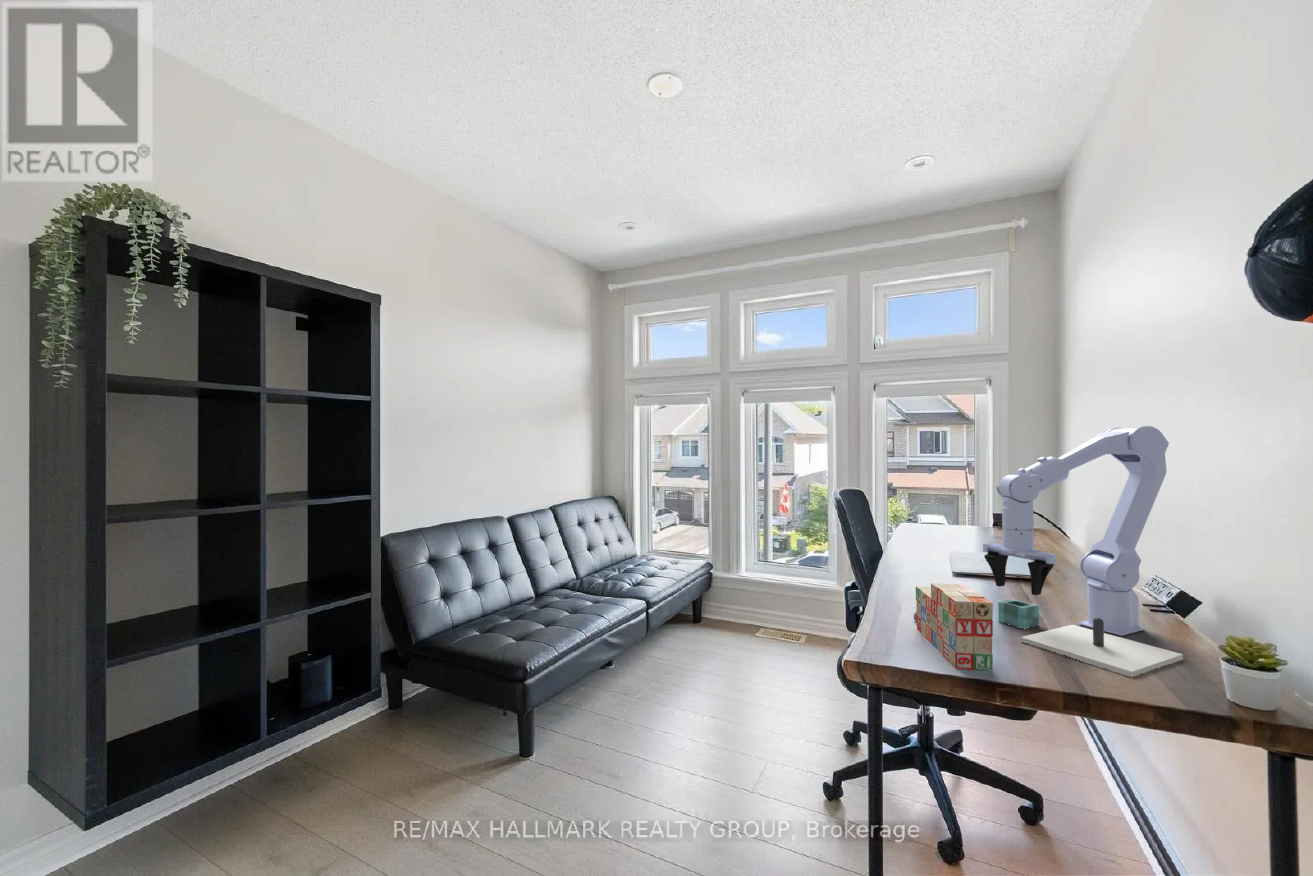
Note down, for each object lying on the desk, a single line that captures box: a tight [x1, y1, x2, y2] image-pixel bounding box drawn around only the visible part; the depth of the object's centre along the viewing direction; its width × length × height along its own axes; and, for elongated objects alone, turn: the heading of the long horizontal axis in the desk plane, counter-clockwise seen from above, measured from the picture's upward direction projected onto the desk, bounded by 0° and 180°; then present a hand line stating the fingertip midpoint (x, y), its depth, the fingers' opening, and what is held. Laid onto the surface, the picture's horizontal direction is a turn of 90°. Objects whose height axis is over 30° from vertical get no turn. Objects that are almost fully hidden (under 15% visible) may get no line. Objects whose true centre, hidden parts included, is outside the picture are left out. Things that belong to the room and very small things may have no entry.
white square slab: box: [1020, 618, 1184, 678], centre depth 102 cm, size 18×18×6 cm
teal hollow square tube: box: [997, 598, 1040, 628], centre depth 117 cm, size 5×5×4 cm
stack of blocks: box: [915, 582, 994, 671], centre depth 104 cm, size 21×6×12 cm, turn 171°
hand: (1017, 590), depth 118 cm, fingers open, 7 cm apart
